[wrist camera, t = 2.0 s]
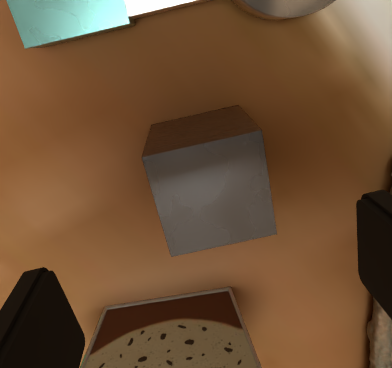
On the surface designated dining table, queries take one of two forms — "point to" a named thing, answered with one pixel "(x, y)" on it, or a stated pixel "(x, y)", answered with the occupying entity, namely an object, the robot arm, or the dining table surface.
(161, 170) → the brushed metal cube
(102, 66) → the dining table surface
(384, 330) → the elongated rock
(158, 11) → the ratchet
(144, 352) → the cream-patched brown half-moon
